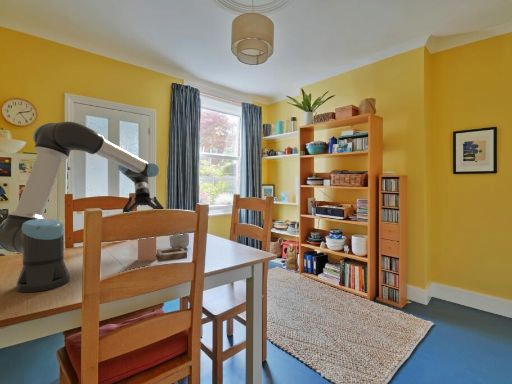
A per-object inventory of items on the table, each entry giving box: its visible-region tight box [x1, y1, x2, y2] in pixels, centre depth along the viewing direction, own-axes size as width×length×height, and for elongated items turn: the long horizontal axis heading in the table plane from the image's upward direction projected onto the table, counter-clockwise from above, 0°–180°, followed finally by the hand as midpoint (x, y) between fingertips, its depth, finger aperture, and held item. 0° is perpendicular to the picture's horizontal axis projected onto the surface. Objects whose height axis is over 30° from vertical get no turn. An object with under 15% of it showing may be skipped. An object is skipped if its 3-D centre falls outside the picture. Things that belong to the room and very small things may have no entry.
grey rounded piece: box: [169, 233, 190, 250], centre depth 150 cm, size 14×11×8 cm
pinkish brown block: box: [137, 236, 157, 263], centre depth 127 cm, size 8×4×15 cm, turn 118°
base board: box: [156, 247, 188, 261], centre depth 134 cm, size 13×12×2 cm
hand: (144, 221), depth 136 cm, fingers open, 13 cm apart
